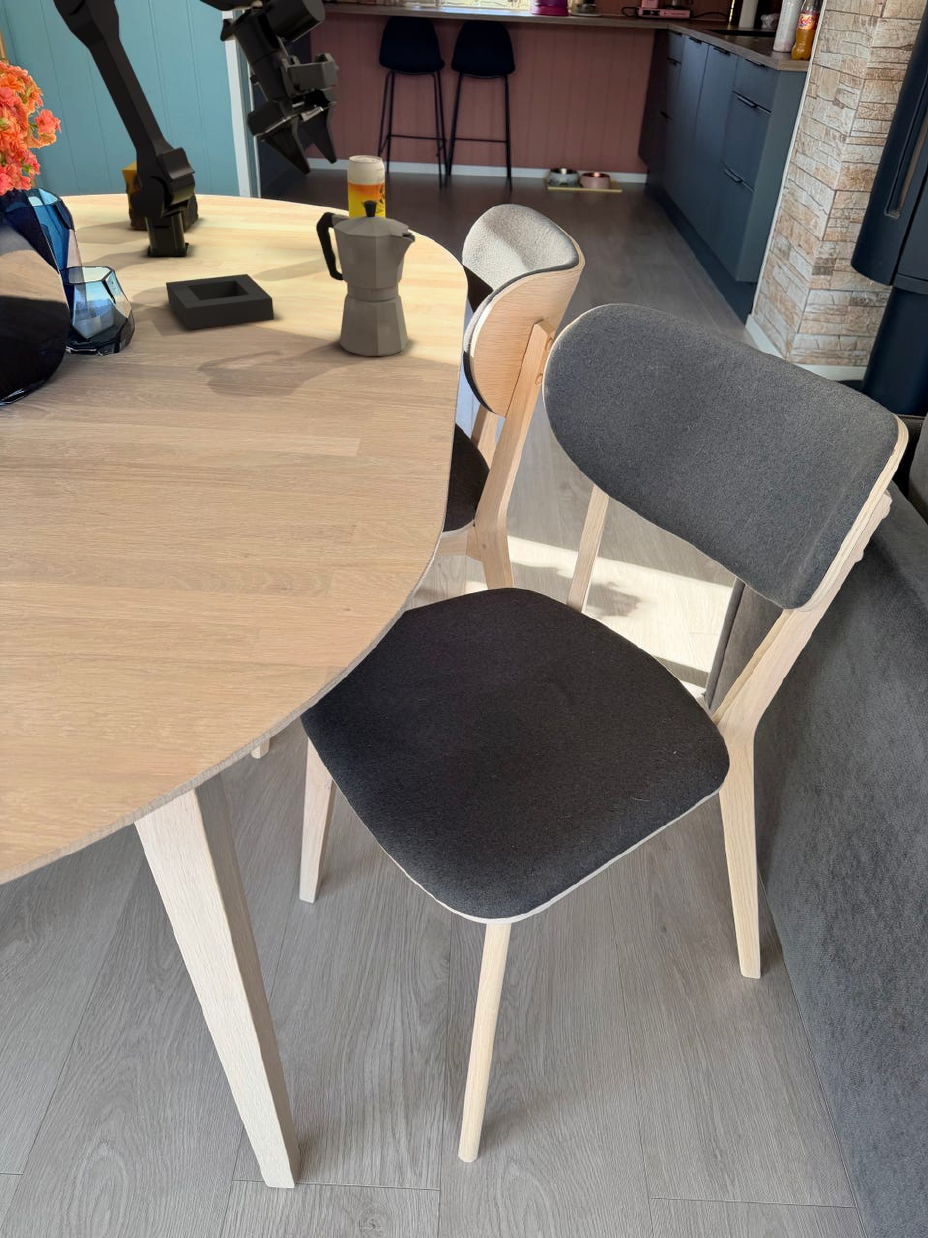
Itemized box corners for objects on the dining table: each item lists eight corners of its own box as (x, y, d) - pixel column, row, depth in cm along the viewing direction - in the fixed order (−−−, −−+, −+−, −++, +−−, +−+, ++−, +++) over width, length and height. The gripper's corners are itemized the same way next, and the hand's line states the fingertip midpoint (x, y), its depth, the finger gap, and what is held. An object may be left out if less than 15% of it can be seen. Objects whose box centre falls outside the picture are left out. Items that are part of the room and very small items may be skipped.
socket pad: (168, 303, 131) (165, 282, 129) (249, 293, 136) (247, 273, 134) (189, 329, 123) (186, 307, 121) (274, 318, 127) (272, 297, 126)
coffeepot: (434, 345, 121) (436, 202, 111) (392, 366, 115) (390, 216, 104) (345, 321, 128) (339, 183, 117) (301, 339, 121) (290, 195, 111)
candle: (186, 232, 162) (178, 171, 156) (130, 230, 162) (119, 169, 156) (200, 218, 170) (193, 160, 164) (147, 216, 170) (137, 157, 164)
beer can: (380, 261, 152) (378, 163, 143) (345, 257, 153) (341, 160, 144) (389, 251, 157) (388, 156, 148) (356, 248, 158) (353, 153, 149)
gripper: (279, 34, 118) (337, 154, 125) (338, 25, 133) (387, 133, 139) (219, 76, 124) (278, 189, 130) (282, 63, 138) (332, 166, 145)
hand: (321, 167), depth 136 cm, fingers open, 9 cm apart
